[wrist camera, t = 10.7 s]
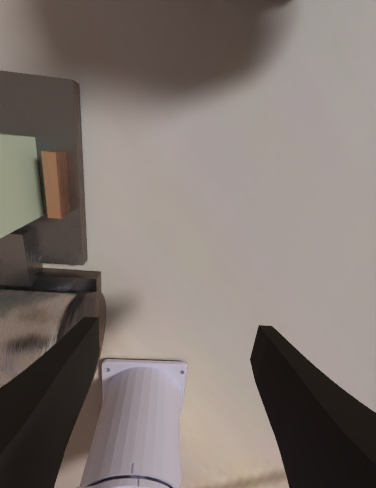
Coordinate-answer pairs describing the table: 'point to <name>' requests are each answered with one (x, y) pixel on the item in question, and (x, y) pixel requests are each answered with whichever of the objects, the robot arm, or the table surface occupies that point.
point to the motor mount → (46, 227)
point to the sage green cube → (18, 183)
